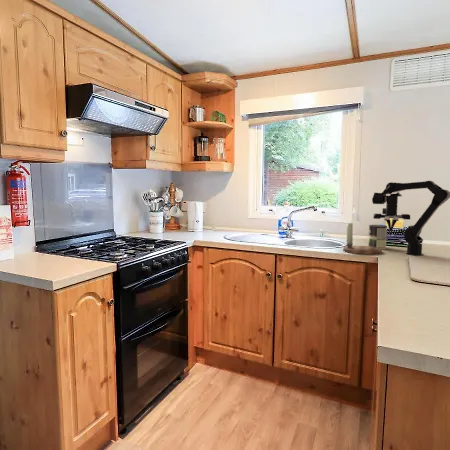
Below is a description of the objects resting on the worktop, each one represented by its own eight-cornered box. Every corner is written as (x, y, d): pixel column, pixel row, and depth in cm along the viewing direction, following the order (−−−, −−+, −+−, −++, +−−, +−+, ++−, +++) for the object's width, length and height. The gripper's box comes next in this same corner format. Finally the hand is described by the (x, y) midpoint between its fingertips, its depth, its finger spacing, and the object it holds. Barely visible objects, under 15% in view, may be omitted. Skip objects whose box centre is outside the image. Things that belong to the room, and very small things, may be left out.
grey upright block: (367, 248, 208) (368, 225, 207) (369, 246, 217) (370, 224, 216) (385, 249, 203) (386, 226, 202) (386, 247, 212) (387, 225, 211)
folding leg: (352, 245, 199) (352, 223, 198) (352, 245, 196) (352, 223, 195) (346, 244, 200) (346, 223, 199) (346, 245, 197) (346, 223, 196)
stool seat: (380, 250, 202) (380, 242, 202) (383, 255, 182) (383, 247, 182) (343, 248, 209) (343, 241, 209) (342, 253, 190) (342, 245, 190)
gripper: (408, 204, 197) (406, 230, 199) (373, 203, 204) (372, 229, 205) (411, 204, 187) (409, 232, 188) (374, 204, 194) (373, 231, 195)
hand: (390, 231), depth 194 cm, fingers closed
